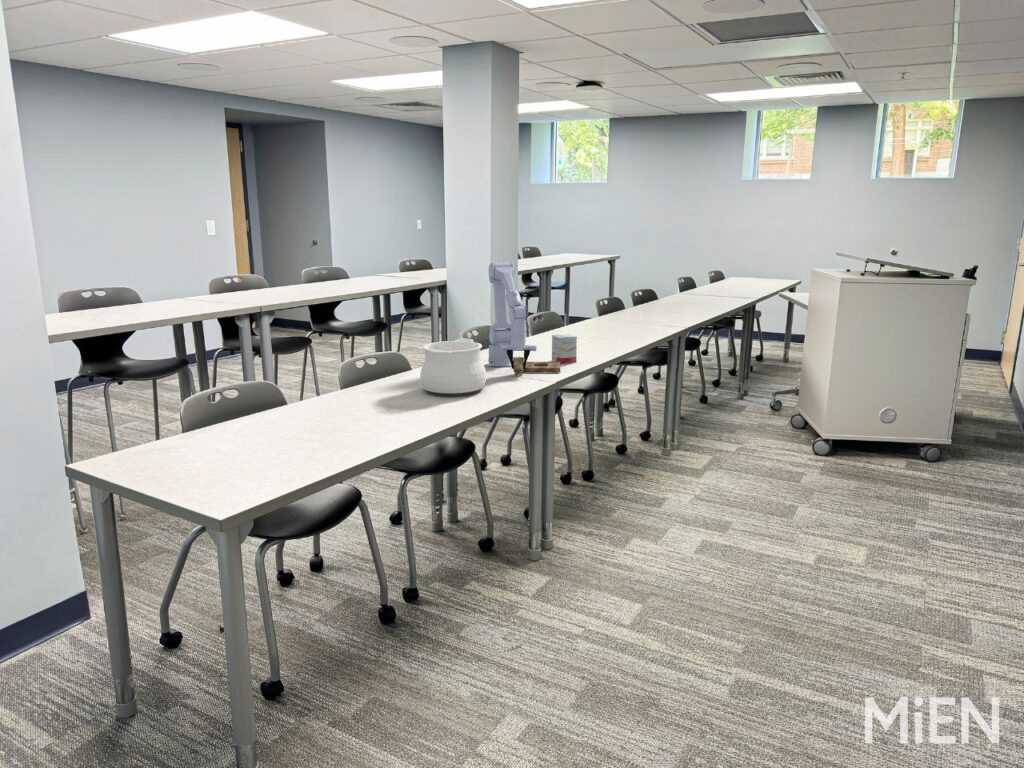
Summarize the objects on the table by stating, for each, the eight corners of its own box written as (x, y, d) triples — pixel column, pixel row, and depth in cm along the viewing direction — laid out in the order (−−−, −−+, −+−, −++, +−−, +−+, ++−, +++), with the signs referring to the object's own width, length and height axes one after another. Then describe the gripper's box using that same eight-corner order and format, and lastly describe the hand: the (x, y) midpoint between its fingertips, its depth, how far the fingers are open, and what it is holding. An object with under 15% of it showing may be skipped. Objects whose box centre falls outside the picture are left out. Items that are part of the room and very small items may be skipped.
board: (521, 372, 295) (521, 368, 295) (522, 366, 308) (522, 361, 308) (560, 372, 295) (560, 368, 294) (559, 366, 307) (559, 361, 307)
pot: (438, 380, 284) (437, 336, 280) (497, 384, 277) (496, 339, 273) (407, 397, 258) (405, 349, 254) (470, 402, 250) (469, 353, 246)
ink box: (577, 362, 315) (577, 335, 312) (559, 364, 312) (559, 337, 309) (568, 359, 323) (568, 333, 320) (551, 360, 320) (551, 334, 317)
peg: (513, 375, 290) (512, 358, 288) (513, 373, 294) (513, 356, 293) (523, 375, 290) (523, 358, 288) (524, 373, 294) (523, 356, 292)
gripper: (499, 337, 285) (500, 370, 288) (536, 337, 284) (536, 370, 287) (500, 334, 292) (501, 366, 295) (536, 334, 291) (536, 366, 294)
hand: (518, 368), depth 291 cm, fingers closed on peg, 4 cm apart
